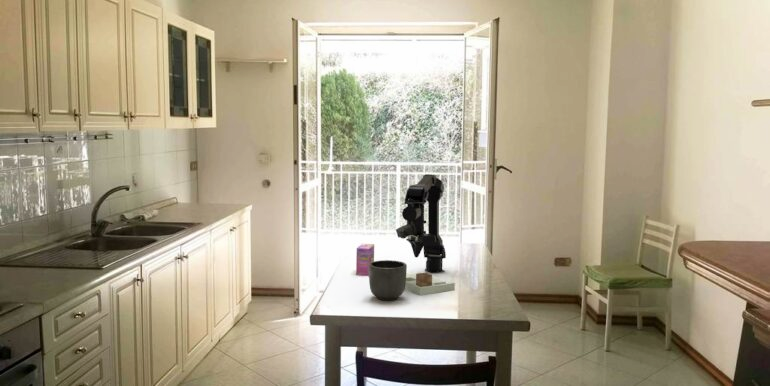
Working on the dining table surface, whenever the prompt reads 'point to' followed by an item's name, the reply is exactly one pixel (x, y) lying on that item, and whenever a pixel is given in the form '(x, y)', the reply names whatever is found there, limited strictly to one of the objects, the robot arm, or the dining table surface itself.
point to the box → (364, 258)
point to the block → (423, 279)
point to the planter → (387, 279)
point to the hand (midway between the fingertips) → (416, 257)
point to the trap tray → (435, 288)
